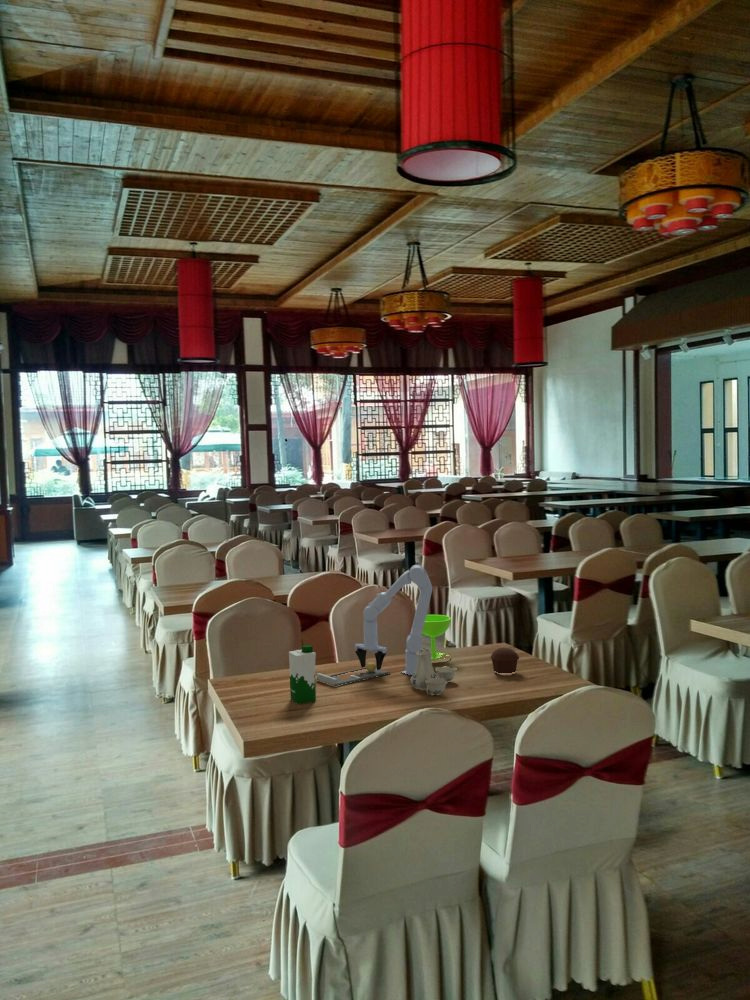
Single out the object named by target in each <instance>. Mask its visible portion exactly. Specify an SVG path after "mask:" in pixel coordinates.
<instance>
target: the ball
mask: <svg viewBox="0 0 750 1000" xmlns="http://www.w3.org/2000/svg"><path fill="white" fill-rule="evenodd" d="M365 667H366V668H367V670H368V671H369V672H374V671H375V670H376V669H377V668H376V663H375V662H367V664H366V665H365Z"/></svg>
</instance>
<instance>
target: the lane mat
mask: <svg viewBox="0 0 750 1000" xmlns="http://www.w3.org/2000/svg"><path fill="white" fill-rule="evenodd" d="M362 669H367V668H366V666H365V667H363V668H362V667H360V668H355V669H352V670H351V669H350V670H346V671H343V672H338V673H333V674H328V675H327V674H326V675H325V674H323V673H321V672H318V673H316V681H317V680H319V681H322V682H325V683H328V684H331V685H333V686H338V685H341V684H345V683H350V682H354V681H359V680H363V679H367V678H371V679H373V678H372V677H376V676H380V675H384V674H388V673H390V674H391V671H390V670H387V671H386V670H384V669H380V671H378V670H375V671H374V672H369V671H366V673H360V675H358V674H357V673H355V675H350V676H352V677H350V678H349V679H348V678H347V679H344V680H341V678H340V679H339V678H337V675H341V674H345V673H348V672H354V671H358V670H362ZM388 675H389V674H388ZM333 676H336V677H333ZM384 676H385V675H384ZM380 677H381V676H380ZM376 678H377V677H376ZM367 680H368V679H367ZM363 681H364V680H363ZM359 682H360V681H359ZM333 686H332V687H333ZM338 687H339V686H338Z"/></svg>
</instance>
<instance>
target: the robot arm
mask: <svg viewBox="0 0 750 1000" xmlns="http://www.w3.org/2000/svg"><path fill="white" fill-rule="evenodd" d="M412 583H414V585H416V586H417V587H418V589H419V591H420V592H419V597H418V601H417V604H416V608H415V613H414V614H415V615H414V617H413V622H412V626H411V629H410V633H409V634H408V635H407V636H406V640H405V641H406V643H405V647H406V649H405V650H404V651H405V652H404V653H405V659H404V660H405V670H403V671H401V672H402V673H401V674H404V673H405V674H404V675H407V674H408V676H410V675H413V673H414V672H415V669H416V666H417V655H416V652H418V651H420V650H421V649H422V647H423V645H422V641H423V640H422V636H423V633H422V631H423V627H424V623H425V619H426V615H428V609H429V605H430V601H431V596H432V594H433V593H432V592H433V585H432V583H431V580H430V578H429V575H428V571H426V569H425V567H423V566H422V565H421V564H414V565H412V566H411V567H410V568H409V569H408V570H406V571H404V573H402V574H401V575H400V576H399V577H398V578H397V579H396V581H395V582H394V583H393V584H392V585H391V586H390V587H389V589H387V590H386V591H384V592H380V593H377V594H376V595H375V596H376V597H375V598H374V599H373V600H372V601H371V602H368V604H367V606H366V607H364V610H363V612H362V616H363V626H362V627H363V643H355V644H354V649H355V654H356V656H357V658H358V660H359V663H360V668H364V667H366V666H367V664H366V663H367V662H366V661H367V651H370V652H375V653H374V656H375V657H374V658H375V661H376V663H375V665H376V669H377V670H382V666H383V663H384V659H385V657H386V655H387V653H388V647H385V646H381V645H379V644H378V643H379V642H378V620H377V618H378V615H379V614H381V613H382V612H383V611H384V610H385V609H386V608H387V607H388V606H389V605H390V604H391V603H392V598H393V597H394V595H396V594H397V593H398V592H399V591H401V589H402V588H403V587H404V586H406V585H411V584H412Z"/></svg>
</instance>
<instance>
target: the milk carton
mask: <svg viewBox="0 0 750 1000" xmlns="http://www.w3.org/2000/svg"><path fill="white" fill-rule="evenodd" d="M316 657H317V653H316V652H315V651H314V646H313V645H312V644H303V645H301V649H295V650H291V651H288V663H289V692H290V701H293V702H294V703H295V704H297V705H303V703H304V704H308V703H309V702H310V703H315V702H314V701H316V702H317V694H316V693H317V691H316V690H317V689H316V687H317V684H316V682H317V681H316Z"/></svg>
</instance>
